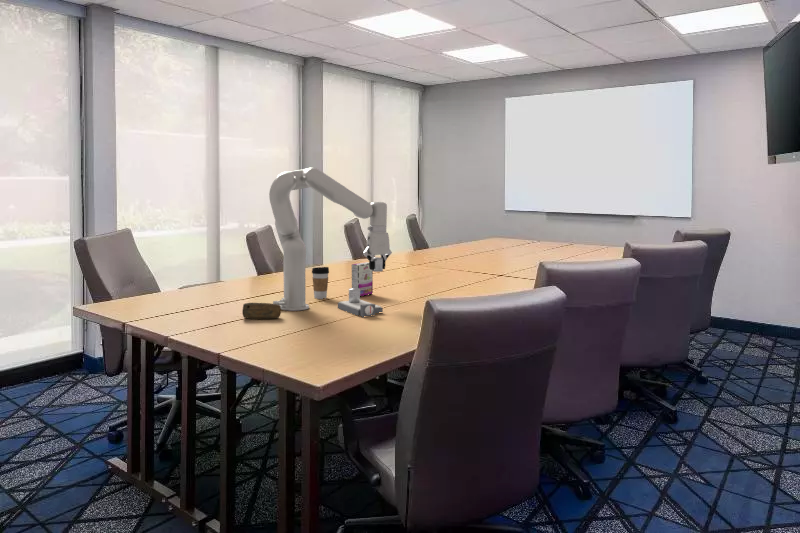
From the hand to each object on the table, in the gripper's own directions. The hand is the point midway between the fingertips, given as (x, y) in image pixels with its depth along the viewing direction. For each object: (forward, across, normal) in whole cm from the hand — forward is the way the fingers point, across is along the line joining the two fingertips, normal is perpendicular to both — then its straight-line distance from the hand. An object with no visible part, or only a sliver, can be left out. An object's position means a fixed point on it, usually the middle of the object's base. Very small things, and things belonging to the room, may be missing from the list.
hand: (377, 268), depth 270 cm
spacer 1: (+14, -12, -1) cm, 19 cm away
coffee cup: (+18, -14, +30) cm, 37 cm away
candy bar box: (+17, +7, +26) cm, 32 cm away
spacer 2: (+1, 0, 0) cm, 1 cm away
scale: (+17, -12, -8) cm, 23 cm away
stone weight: (+18, -55, -1) cm, 58 cm away
